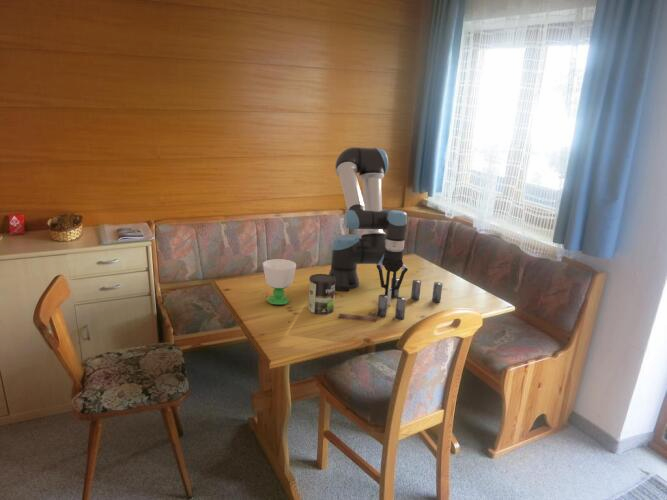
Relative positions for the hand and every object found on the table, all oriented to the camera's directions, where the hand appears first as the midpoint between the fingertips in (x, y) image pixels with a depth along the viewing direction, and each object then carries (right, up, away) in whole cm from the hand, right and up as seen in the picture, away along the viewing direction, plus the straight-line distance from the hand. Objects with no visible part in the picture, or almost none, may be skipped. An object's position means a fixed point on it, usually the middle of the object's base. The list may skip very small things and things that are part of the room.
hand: (388, 303), depth 201 cm
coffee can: (-28, -2, -9) cm, 29 cm away
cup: (-46, +1, 0) cm, 46 cm away
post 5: (+21, -1, +8) cm, 23 cm away
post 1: (-4, -4, -11) cm, 12 cm away
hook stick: (-14, -4, -13) cm, 20 cm away
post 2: (+4, +1, +10) cm, 11 cm away
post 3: (+3, -5, -12) cm, 13 cm away
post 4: (+12, 0, +9) cm, 16 cm away
